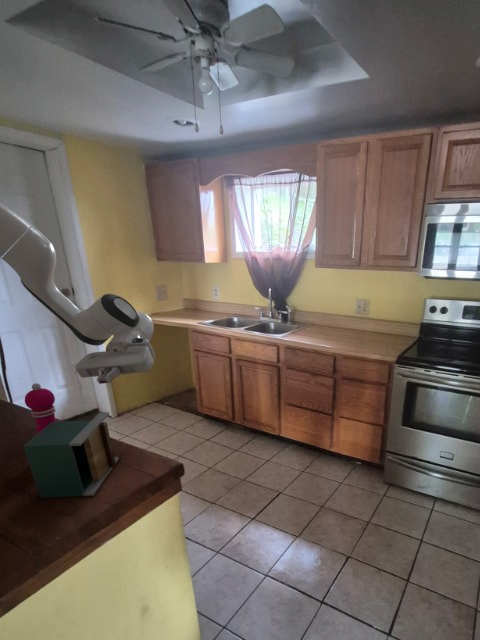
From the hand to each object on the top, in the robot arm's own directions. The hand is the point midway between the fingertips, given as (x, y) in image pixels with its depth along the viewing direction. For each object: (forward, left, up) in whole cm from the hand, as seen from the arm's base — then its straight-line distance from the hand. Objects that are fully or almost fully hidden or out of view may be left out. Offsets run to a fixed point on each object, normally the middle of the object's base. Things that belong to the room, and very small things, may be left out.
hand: (103, 381), depth 96 cm
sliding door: (+4, -16, -17) cm, 24 cm away
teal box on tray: (-1, -17, -18) cm, 24 cm away
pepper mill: (-12, -7, -18) cm, 23 cm away
